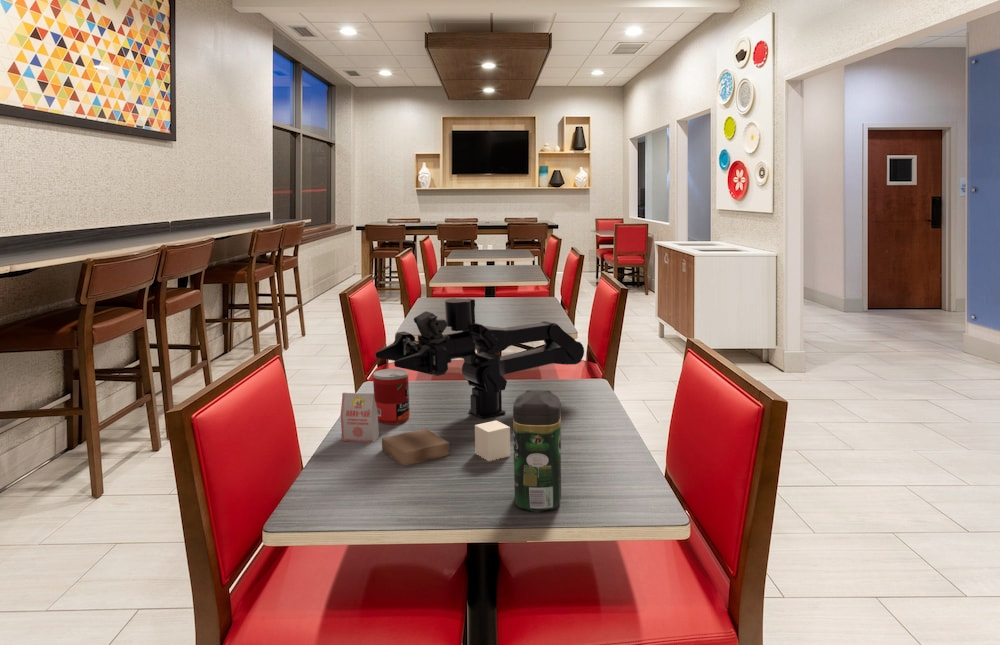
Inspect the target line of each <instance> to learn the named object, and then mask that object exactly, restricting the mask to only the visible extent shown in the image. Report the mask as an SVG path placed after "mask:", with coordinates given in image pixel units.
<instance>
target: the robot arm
mask: <svg viewBox="0 0 1000 645" xmlns="http://www.w3.org/2000/svg"><path fill="white" fill-rule="evenodd" d="M444 307H445V308H444V310H445V319H443V318H438V315H435V313H433V312H430V311H426V310H425V311H424V312H422V313H420V314H418V315H417V316H415V317H413V322H414V323H415V324H416V326H417V330H418V332H419V334H418V335H417V341H418V342H416V336H414V335H413V334H412V333H410V332H407V331H398V332H396V334H395V337H394V341H393V342H392V343H390V344H389V345H387V346H386V347H383V348H382V349H379V350H378V351H375V353H374V354H375V356H374V357H375V358H376V359H381V360H388V361H393V364H394V365H393V366H394V367H395V368H398V369H403V370H409V371H415V372H418V373H423V374H427V375H429V376H430V375H431V376H433V375H434V376H436V377H439V376H444V375H446V373H447V371H448V370H449V367H448V366H449V364H450V363H452V360H456V359H462V358H463V363H462V366H461V373H462V375H463V378H465V379H466V380H467V384H468V385H469V387H470V386H471V387H472V388H471V394H470V409H468V412H469V413H470V414H472V415H475V416H477V417H479V418H481V419H485V418H490V417H495V416H496V417H497V416H500V415H505V414H506V411H505V410H503V405H502V404H503V403H502V402H503V401H502V398H503V397H502V391H504V390H506V386H507V384H508V381H507V379H505V378H504V376H506V375H509V374H514V373H518V372H523V371H526V370H532V369H535V368H539V367H544V366H548V365H553V364H554V365H555V364H556V365H566V366H569V365H570V366H571V365H578V364H580V363H581V362H582V360H583V357H584V355H585V348H584V345H583V344H582V343H581V341H578V340H577V341H576V339H575V338H574V337H572V336H571V335H570V334H569V333H567V332H566V331H564V329H562V328H561V327H560V326H559V325H558V324H557V323H556V322H552V321H547V320H543V321H540V322H536V323H527V324H522V325H516V326H509V327H507V326H506V327H500V326H499V327H498V326H492V325H491V326H490V325H489V326H488V325H483V324H480V323H477V322H476V313H475V310H476V309H475V307H476V300H475V299H474V298H448V299H445V300H444ZM448 327H449V328H450V331H452V332H453V333H447V334H443V333H444V332H445V330H446V328H448ZM538 341H543V343H544V344H545V346H544V345H543V346H542V347H538V348H534V349H528V350H524V351H519V352H516V353H510V354H504V355H501V354H498V353H500V352H502V351H505V350H506V349H508V348H509V347H511V346H514V345H521V344H526V343H533V342H538ZM476 351H478V352H476Z"/></svg>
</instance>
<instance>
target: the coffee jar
mask: <svg viewBox="0 0 1000 645" xmlns="http://www.w3.org/2000/svg"><path fill="white" fill-rule="evenodd" d="M561 405H562V402H561V400H560V398H559V397H558V396H557V395H556V394H555V393H553V392H552V391H551V390H548V389H547V390H546V389H545V390H543V389H527V390H526V391H525V392H523V393H522V394H520V395H518V396H517V397H516V399H515V400H514V402H513V407H512V408H513V409H512V412H513V413H512V414H513V415H512V416H513V417H512V421H513V422H512V423H513V424H512V425H513V426H512V431H513V432H512V436H513V437H512V439H513V442H512V444H513V471H514V472H513V477H514V478H513V479H514V483H513V484H514V502H515V505H516V506H517V507H518V508H519V509H524V510H527V511H530V512H544V511H549V510H554V509H557V508H558V506H559V505H560V503H561V500H562V420H561V419H562V411H561Z"/></svg>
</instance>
